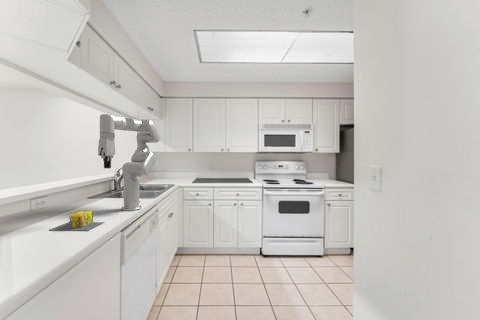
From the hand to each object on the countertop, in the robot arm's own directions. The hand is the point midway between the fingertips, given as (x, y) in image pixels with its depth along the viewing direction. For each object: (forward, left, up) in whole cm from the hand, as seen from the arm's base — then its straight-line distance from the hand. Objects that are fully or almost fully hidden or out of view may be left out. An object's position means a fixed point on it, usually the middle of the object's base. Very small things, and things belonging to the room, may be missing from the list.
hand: (107, 168), depth 141 cm
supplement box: (+9, -6, -26) cm, 28 cm away
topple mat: (+17, -6, -29) cm, 34 cm away
